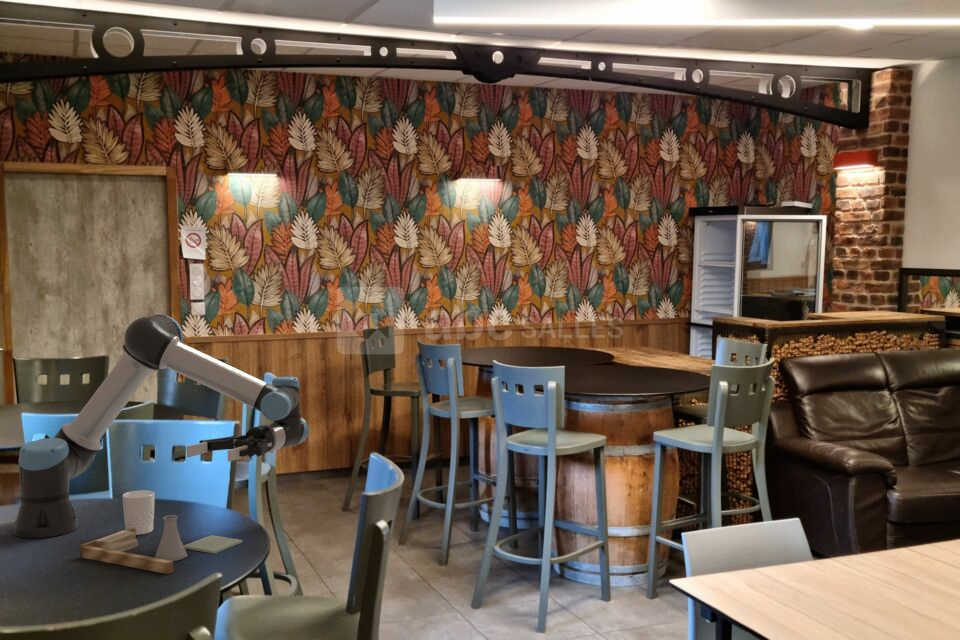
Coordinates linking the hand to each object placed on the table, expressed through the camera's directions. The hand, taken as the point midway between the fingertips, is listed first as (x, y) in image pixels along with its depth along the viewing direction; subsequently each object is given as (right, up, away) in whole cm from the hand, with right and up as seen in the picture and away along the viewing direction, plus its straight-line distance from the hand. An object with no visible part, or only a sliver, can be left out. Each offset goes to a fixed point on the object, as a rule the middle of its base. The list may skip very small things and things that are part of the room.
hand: (207, 453), depth 228 cm
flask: (-6, -24, -10) cm, 26 cm away
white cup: (-21, -22, +12) cm, 33 cm away
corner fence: (-11, -23, -9) cm, 27 cm away
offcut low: (-21, -24, -4) cm, 32 cm away
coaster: (+1, -23, -1) cm, 23 cm away
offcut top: (-21, -22, -4) cm, 30 cm away
